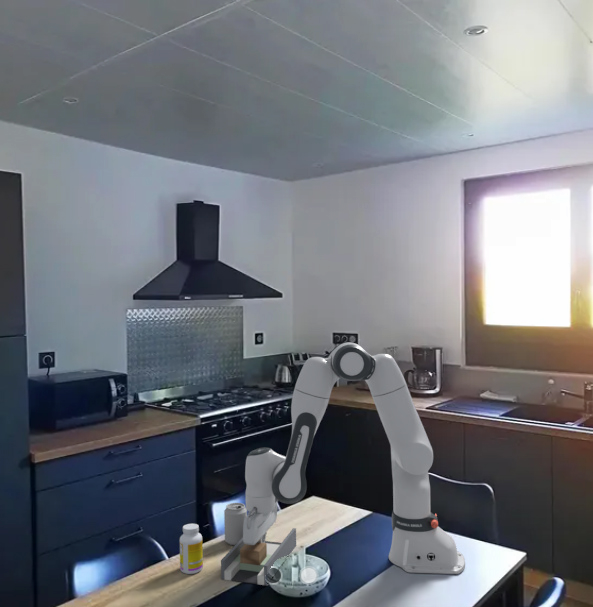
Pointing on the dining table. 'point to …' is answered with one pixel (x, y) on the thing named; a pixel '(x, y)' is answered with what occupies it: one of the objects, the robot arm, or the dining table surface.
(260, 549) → the walnut block
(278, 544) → the box
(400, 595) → the dining table surface
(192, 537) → the supplement bottle
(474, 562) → the dining table surface
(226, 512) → the can
